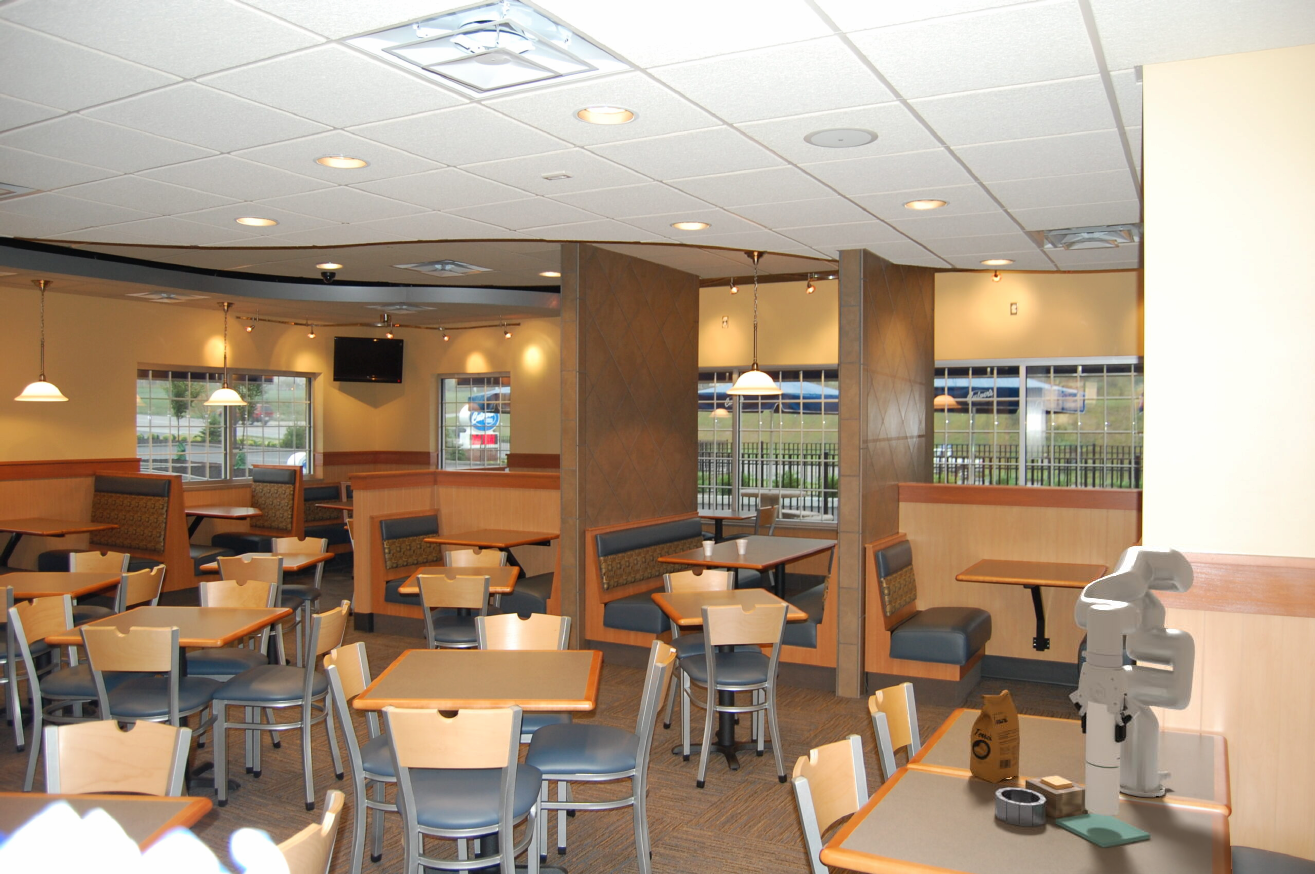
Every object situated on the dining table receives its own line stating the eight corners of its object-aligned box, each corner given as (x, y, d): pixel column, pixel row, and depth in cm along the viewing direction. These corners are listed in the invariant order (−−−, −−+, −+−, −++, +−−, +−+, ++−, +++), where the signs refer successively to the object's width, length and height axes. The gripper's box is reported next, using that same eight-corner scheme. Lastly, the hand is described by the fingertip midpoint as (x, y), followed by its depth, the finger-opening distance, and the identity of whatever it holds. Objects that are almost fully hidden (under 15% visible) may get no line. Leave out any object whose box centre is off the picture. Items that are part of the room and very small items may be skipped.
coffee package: (963, 773, 261) (964, 691, 261) (993, 765, 268) (994, 685, 268) (994, 785, 253) (995, 700, 253) (1024, 776, 259) (1026, 694, 259)
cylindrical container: (1123, 809, 224) (1125, 700, 224) (1113, 818, 219) (1115, 706, 219) (1090, 801, 229) (1092, 694, 229) (1080, 809, 224) (1082, 700, 224)
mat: (1100, 815, 233) (1100, 811, 233) (1150, 838, 220) (1150, 833, 220) (1055, 823, 228) (1055, 819, 228) (1103, 847, 215) (1103, 842, 215)
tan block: (1056, 797, 240) (1056, 775, 240) (1072, 805, 236) (1072, 782, 236) (1040, 800, 239) (1040, 778, 239) (1056, 807, 234) (1056, 785, 234)
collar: (1021, 805, 239) (1022, 785, 239) (1055, 822, 229) (1055, 801, 229) (985, 811, 235) (986, 790, 235) (1018, 829, 225) (1018, 807, 225)
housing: (1056, 798, 244) (1056, 774, 244) (1087, 813, 234) (1088, 788, 234) (1025, 804, 240) (1025, 779, 240) (1055, 819, 231) (1056, 793, 231)
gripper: (1060, 654, 229) (1059, 730, 229) (1133, 669, 215) (1132, 750, 215) (1077, 650, 233) (1076, 724, 233) (1150, 665, 219) (1149, 743, 219)
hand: (1103, 736), depth 224 cm, fingers closed on cylindrical container, 7 cm apart
